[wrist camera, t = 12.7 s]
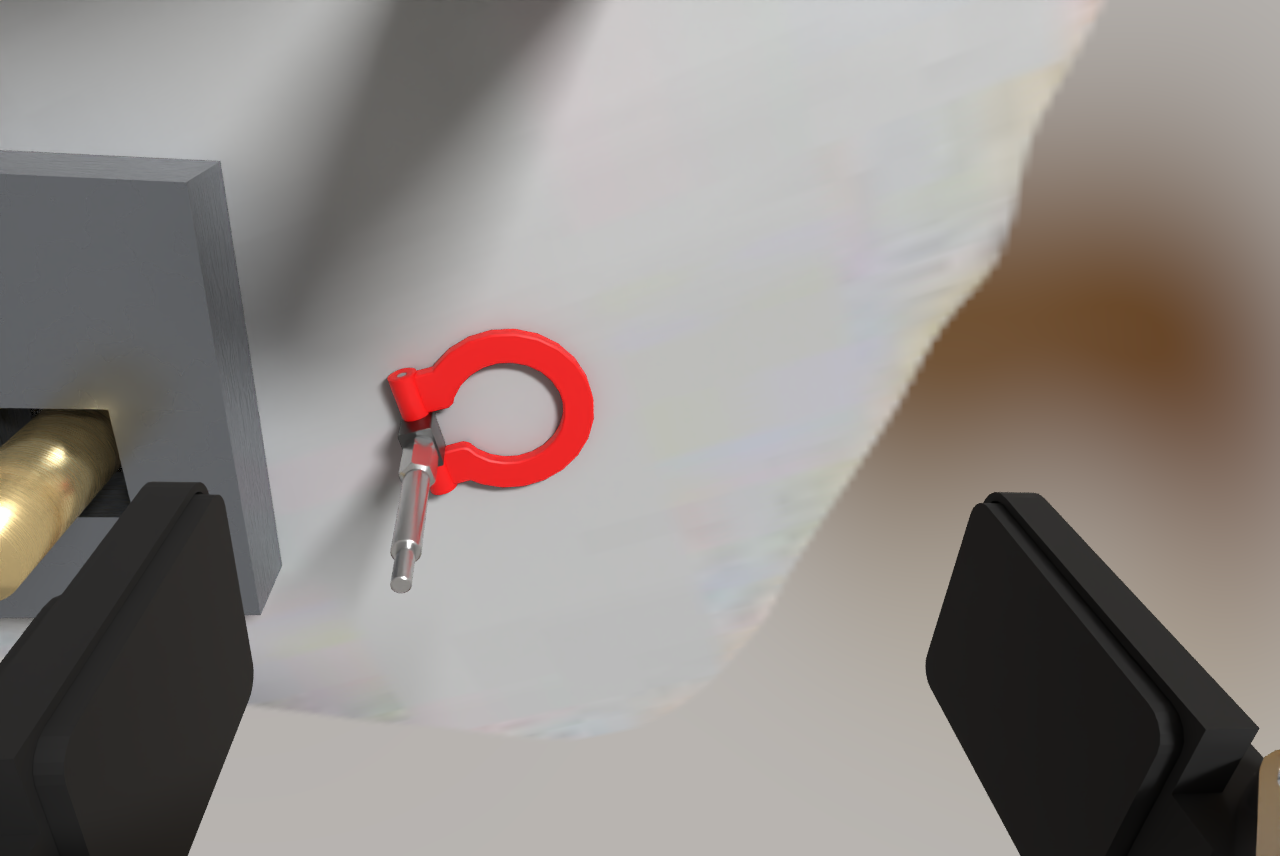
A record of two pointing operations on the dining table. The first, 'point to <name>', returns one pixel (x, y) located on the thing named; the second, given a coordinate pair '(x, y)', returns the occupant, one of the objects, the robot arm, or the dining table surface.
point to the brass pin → (49, 484)
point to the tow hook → (462, 461)
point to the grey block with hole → (132, 343)
